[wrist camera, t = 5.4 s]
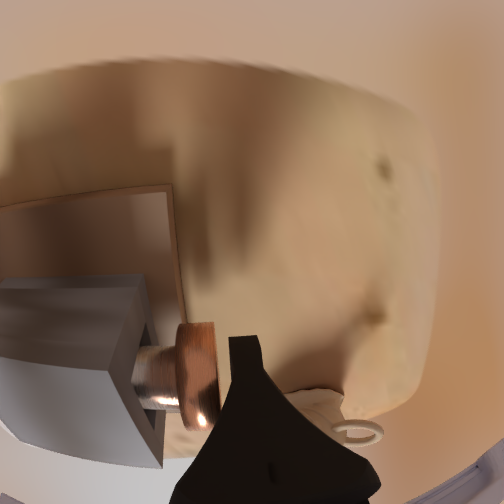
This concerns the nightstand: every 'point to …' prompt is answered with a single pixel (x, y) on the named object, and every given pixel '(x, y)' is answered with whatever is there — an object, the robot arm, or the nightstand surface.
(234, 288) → the nightstand surface
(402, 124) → the nightstand surface
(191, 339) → the shaft
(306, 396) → the cream ribbed curved piece
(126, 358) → the housing
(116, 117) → the nightstand surface
